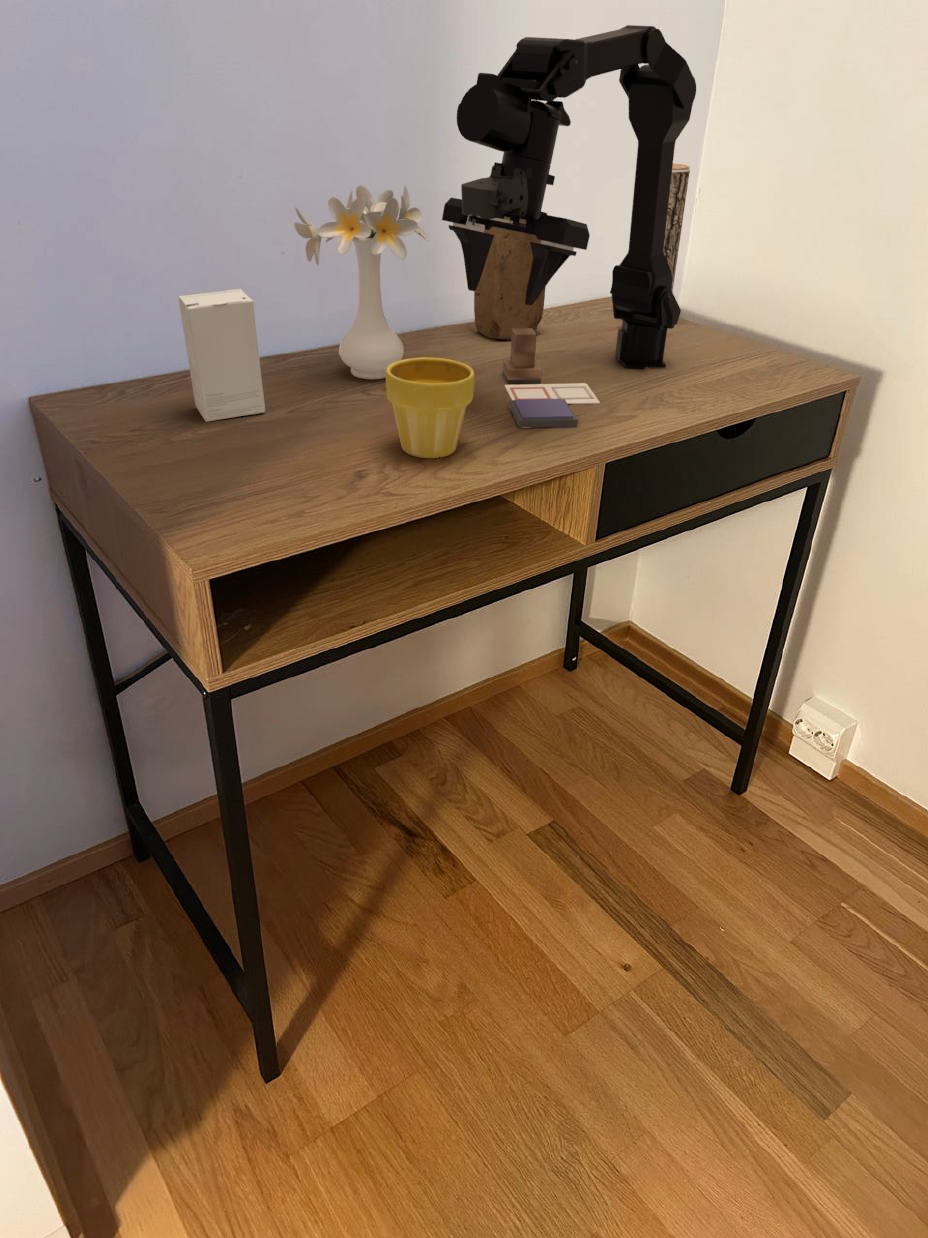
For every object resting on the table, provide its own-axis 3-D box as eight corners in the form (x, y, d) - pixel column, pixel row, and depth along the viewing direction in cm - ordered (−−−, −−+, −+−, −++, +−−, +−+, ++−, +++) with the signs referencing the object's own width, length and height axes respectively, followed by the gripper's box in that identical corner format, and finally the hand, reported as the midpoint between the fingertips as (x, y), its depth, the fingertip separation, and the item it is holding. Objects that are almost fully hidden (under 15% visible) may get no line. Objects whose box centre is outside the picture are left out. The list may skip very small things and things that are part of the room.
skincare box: (254, 400, 128) (243, 286, 120) (267, 414, 124) (256, 298, 116) (192, 408, 125) (176, 292, 117) (202, 423, 120) (187, 304, 112)
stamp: (534, 373, 141) (537, 326, 137) (540, 384, 137) (544, 336, 133) (502, 374, 140) (504, 326, 136) (507, 385, 136) (510, 336, 132)
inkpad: (564, 406, 129) (564, 397, 128) (576, 426, 123) (577, 417, 122) (509, 407, 128) (509, 398, 128) (519, 428, 122) (519, 418, 121)
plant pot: (454, 428, 121) (456, 352, 116) (484, 459, 113) (487, 379, 108) (376, 437, 118) (375, 359, 113) (401, 469, 110) (400, 387, 105)
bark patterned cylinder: (628, 326, 164) (647, 167, 150) (629, 315, 169) (647, 161, 156) (668, 328, 163) (691, 169, 149) (667, 318, 168) (689, 163, 155)
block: (492, 343, 153) (497, 210, 142) (468, 331, 158) (472, 202, 147) (547, 335, 158) (557, 206, 147) (523, 324, 163) (530, 198, 152)
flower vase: (291, 373, 138) (278, 186, 124) (397, 352, 147) (395, 177, 134) (338, 399, 129) (328, 201, 116) (446, 375, 139) (449, 190, 125)
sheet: (586, 384, 137) (586, 382, 137) (599, 403, 130) (600, 401, 130) (504, 385, 136) (504, 383, 135) (514, 405, 129) (514, 403, 129)
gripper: (423, 137, 110) (400, 277, 116) (550, 154, 100) (518, 307, 106) (483, 156, 118) (459, 285, 124) (606, 174, 108) (574, 314, 114)
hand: (499, 297), depth 117 cm, fingers open, 9 cm apart
